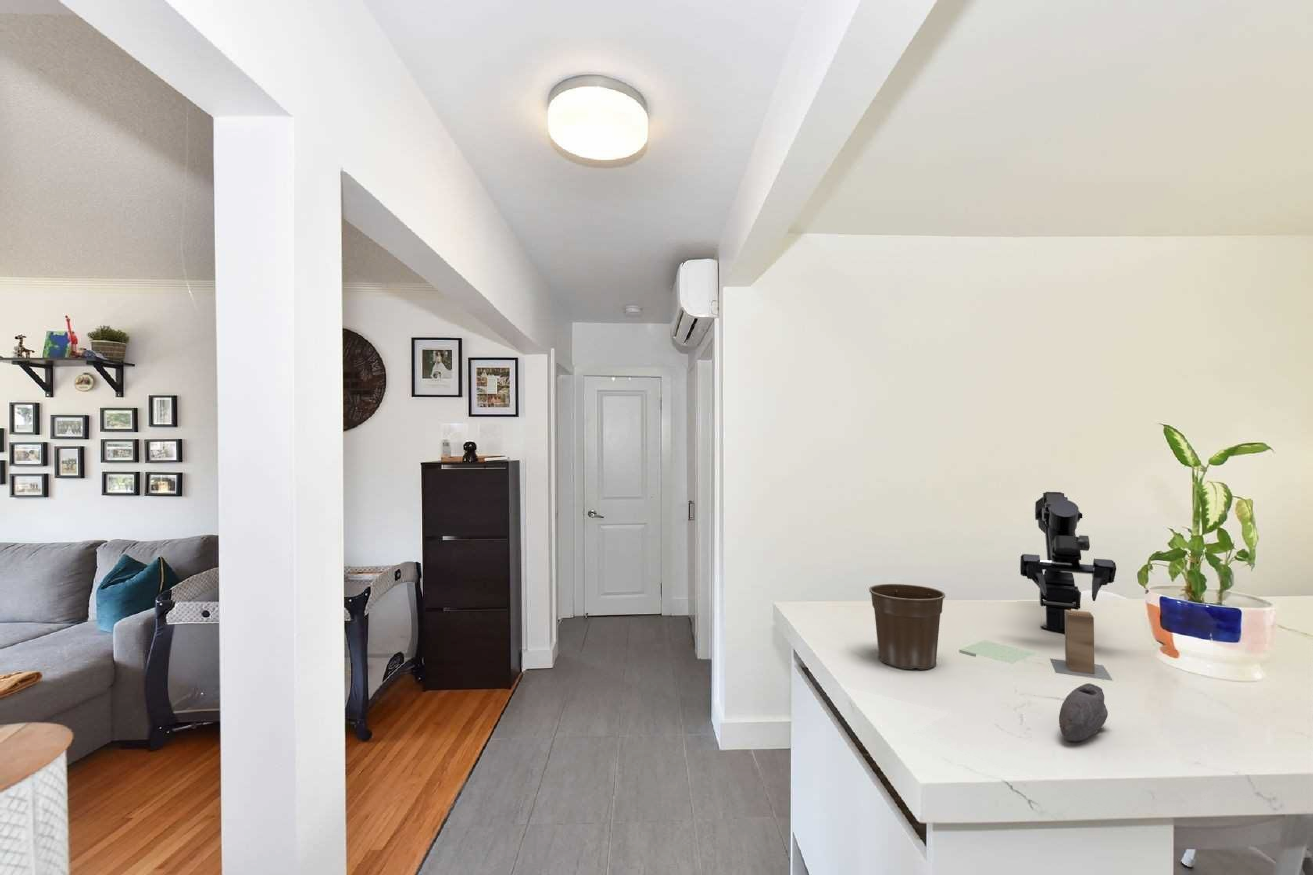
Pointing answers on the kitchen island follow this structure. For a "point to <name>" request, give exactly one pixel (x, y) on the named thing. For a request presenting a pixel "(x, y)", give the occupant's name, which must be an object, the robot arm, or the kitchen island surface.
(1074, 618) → the walnut post
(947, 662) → the kitchen island surface
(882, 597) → the plant pot
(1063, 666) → the plate
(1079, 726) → the perforated stone tool
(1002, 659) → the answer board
